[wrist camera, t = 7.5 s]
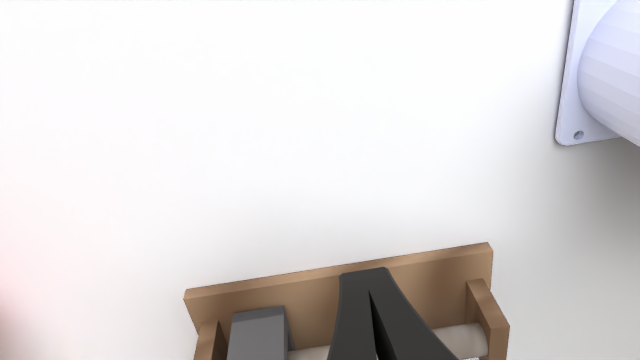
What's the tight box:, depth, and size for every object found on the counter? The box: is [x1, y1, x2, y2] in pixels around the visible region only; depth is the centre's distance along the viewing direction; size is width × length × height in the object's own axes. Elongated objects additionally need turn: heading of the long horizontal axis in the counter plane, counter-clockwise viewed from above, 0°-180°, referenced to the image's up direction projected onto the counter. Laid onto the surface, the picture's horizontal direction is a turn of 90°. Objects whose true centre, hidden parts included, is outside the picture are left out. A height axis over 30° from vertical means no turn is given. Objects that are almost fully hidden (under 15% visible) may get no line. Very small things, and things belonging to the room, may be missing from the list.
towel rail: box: [183, 242, 510, 360], centre depth 26 cm, size 18×8×4 cm, turn 98°
